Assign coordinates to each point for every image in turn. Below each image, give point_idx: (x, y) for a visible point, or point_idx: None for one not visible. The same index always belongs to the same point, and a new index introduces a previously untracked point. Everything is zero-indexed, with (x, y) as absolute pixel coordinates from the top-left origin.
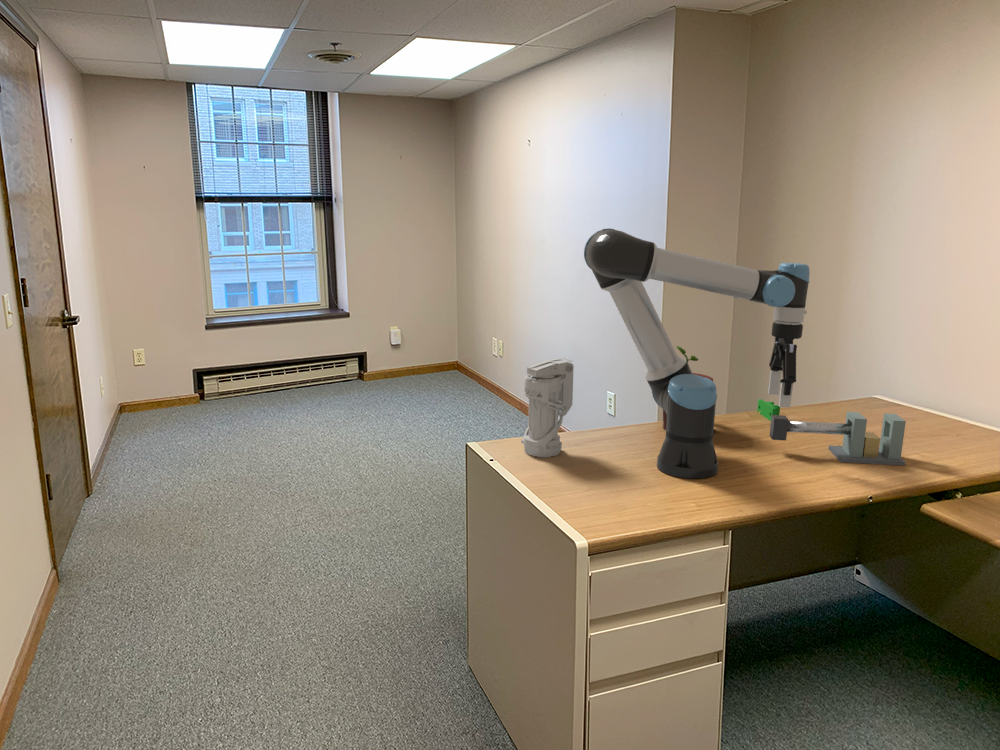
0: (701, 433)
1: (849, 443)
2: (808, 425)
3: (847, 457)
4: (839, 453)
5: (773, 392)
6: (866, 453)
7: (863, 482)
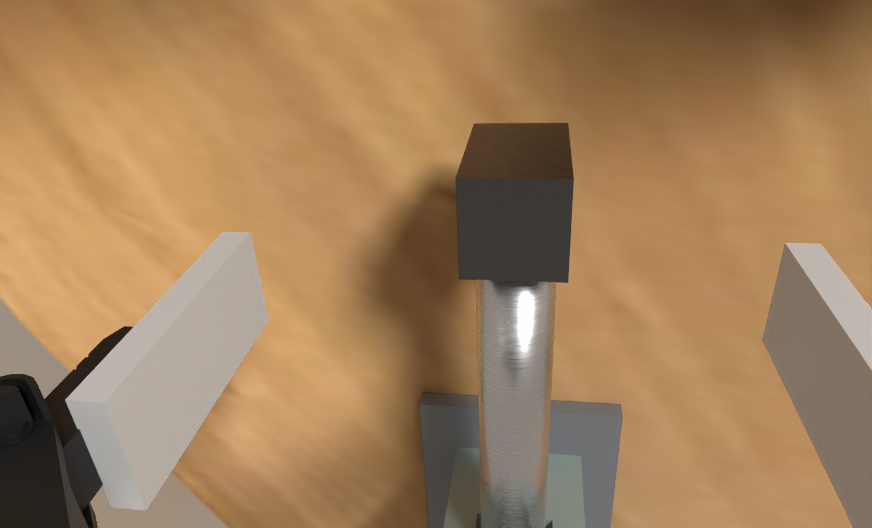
0: None
1: None
2: (483, 379)
3: (440, 433)
4: None
5: (781, 303)
6: None
7: None
